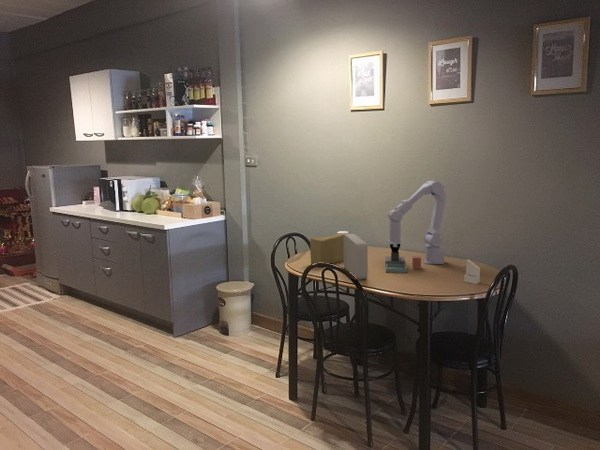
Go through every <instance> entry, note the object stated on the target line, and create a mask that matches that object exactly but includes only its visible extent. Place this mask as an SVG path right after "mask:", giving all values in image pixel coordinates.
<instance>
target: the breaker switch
mask: <svg viewBox="0 0 600 450" xmlns="http://www.w3.org/2000/svg"><path fill="white" fill-rule="evenodd" d="M390 257H391V261H399V257H400V252H399V251H398V252H392V251H391V253H390Z"/></svg>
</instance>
